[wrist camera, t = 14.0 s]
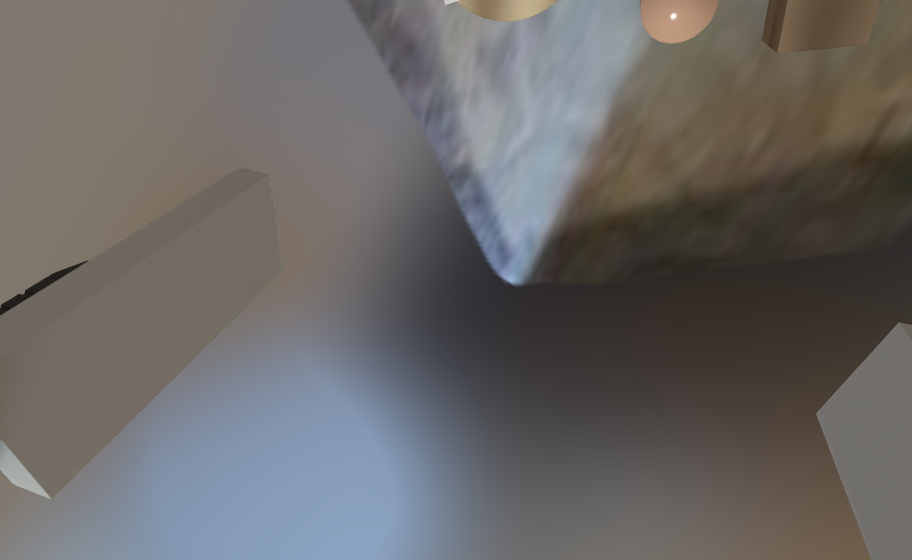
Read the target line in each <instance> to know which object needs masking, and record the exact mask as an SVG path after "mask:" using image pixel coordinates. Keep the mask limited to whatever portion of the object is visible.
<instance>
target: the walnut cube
mask: <svg viewBox="0 0 912 560" xmlns="http://www.w3.org/2000/svg"><path fill="white" fill-rule="evenodd" d="M879 3H880V0H769V4H768V10H767V15H766V21H765V26H764V32H763V37H762V40H763V41H764V42H765V43H766V44H767V45H768V46H769V47H770V48H772V49H773V50H774V51H775V52H776V53H787V52H797V51H807V50H817V49H827V48H837V47H847V46H858V45H868V41H869V38H870V34H871V31H872V27H873V24H874V21H875V17H876V14H877V10H878V7H879Z"/></svg>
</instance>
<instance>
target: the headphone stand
mask: <svg viewBox="0 0 912 560" xmlns="http://www.w3.org/2000/svg"><path fill="white" fill-rule="evenodd" d="M455 1H458V0H444V3H445V5H446V4H449V3H452V2H455Z"/></svg>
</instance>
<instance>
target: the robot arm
mask: <svg viewBox="0 0 912 560" xmlns="http://www.w3.org/2000/svg"><path fill="white" fill-rule="evenodd" d="M283 270H284V266H283V259H282V253H281V247H280V241H279V234H278V228H277V222H276V215H275V209H274V203H273V196H272V190H271V184H270V178H269V174H265V173H261V172H257V171H253V170H248V169H244V168H238V169H237V170H235V171H233V172H232V173H230V174H229V175H227V176H225V177H224V178H222V179H221V180H219V181H217V182H216V183H214V184H212V185H211V186H209V187H208V188H206V189H204V190H203V191H201V192H199V193H198V194H196V195H195V196H193V197H192V198H190V199H188V200H187V201H185V202H183V203H182V204H180V205H178V206H177V207H175V208H174V209H172V210H170V211H169V212H167V213H166V214H164V215H162V216H161V217H159V218H158V219H156V220H154V221H153V222H151V223H149V224H148V225H146V226H145V227H143V228H142V229H140V230H138V231H136V232H135V233H133V234H132V235H130V236H128V237H127V238H125V239H123V240H122V241H120V242H119V243H117V244H116V245H114V246H112V247H111V248H109V249H107V250H106V251H104V252H102V253H101V254H100V255H98V256H96V257H94V258H93V259H91V260H89V261H85V262H83V263H80V264H77V265H74V266H72V267H69V268H66V269H63V270H61V271H58V272H55V273H53V274H51V275H50V276H48V277H47V278H45V279H43V280H41V281H40V282H38V283H37V284H35V285H33V286H32V287H30V288H28V289H27V290H25V293H24V294H23V295H21V294H18V295H17V296H15V297H13V298H12V299H10V300H8V301H7V302H5V303H3V304H2V305H1V308H0V470H1V471H2V472H3V473H4V474H5V475H6V476H7V478H8V479H10V481H11V482H12V483H13V484H15V485H17V486H20V487H22V488H25V489H27V490H30V491H32V492H35V493H37V494H40V495H42V496H45V497H47V498H50V499H53V497H55V496H56V495H57V494H58V493H59V492H60V491H61V490H62V489H63V488H64V487H65V486H66V485H67V484H68V483H69V482H70V481H71V480H72V479H73V478H74V477H75V476H76V475H77V474H78V473H79V472H80V471H81V470H82V469H83V468H84V467H85V466H86V465H87V464H88V463H89V462H90V461H91V460H92V459H93V458H94V457H95V456H96V455H97V454H98V453H99V452H100V451H101V450H102V449H103V448H104V447H105V446H106V445H107V444H108V443H109V442H110V441H111V440H112V439H113V438H114V437H115V436H116V435H117V434H118V433H119V432H120V431H121V430H122V429H123V428H124V427H125V426H126V425H127V424H128V423H129V422H130V421H131V420H132V419H133V418H134V417H135V416H136V415H137V414H138V413H139V412H140V411H141V410H142V409H144V407H146V406H147V405H148V404H149V403H150V402H151V401H152V400H153V399H154V398H155V397H156V396H157V395H158V394H159V393H160V392H161V391H162V390H163V389H164V388H165V387H166V386H167V384H169V383H170V382H171V381H172V380H173V379H174V378H175V377H176V376H177V375H178V374H179V373H180V372H181V371H182V370H183V369H184V368H185V367H186V366H187V365H188V364H189V363H190V362H191V361H192V360H193V359H194V358H195V357H196V356H197V355H198V354H199V353H200V352H201V351H202V350H203V349H204V348H205V347H206V346H207V345H208V344H209V343H210V342H211V341H212V340H213V339H214V338H215V337H216V336H217V335H218V334H219V333H220V332H221V331H222V330H223V329H224V328H225V327H226V326H227V325H228V324H229V323H230V322H231V321H232V320H233V319H234V318H235V317H236V316H237V315H239V313H240V312H242V310H243V309H245V308H246V307H247V306H248V305H249V304H250V303H251V302H252V301H253V299H255V298H256V297H257V296H258V295H259V294H260V293H261V292H262V291H263V290H264V289H265V288H266V287H267V286H268V285H269V284H270V283H271V282H272V281H273V280H274V279H275V278H276V277H277V276H278V275H279V274H280V273H281V272H282V271H283ZM816 414H817V417H818V420H819V422H820V425H821V428H822V430H823V433H824V435H825V438H826V441H827V443H828V446H829V449H830V451H831V454H832V457H833V459H834V462H835V465H836V467H837V470H838V472H839V475H840V478H841V481H842V483H843V486H844V489H845V491H846V493H847V497H848V499H849V502H850V504H851V507H852V510H853V512H854V515H855V518H856V520H857V523H858V525H859V528H860V531H861V534H862V536H863V539H864V542H865V544H866V547H867V550H868V552H869V555H870V558H871V560H912V325H907V324H903V323H898V324H897V325H896V326H895V328H894V329H893V330H892V331H891V332H890V333H889V334H888V335H887V336H886V337H885V339H884V340H883V341H882V342H881V343H880V344H879V345H878V346H877V347H876V348H875V350H874V351H873V352H872V353H871V354H870V355H869V356H868V357H867V358H866V359H865V361H864V362H863V363H862V364H861V365H860V366H859V367H858V368H857V369H856V370H855V372H854V373H853V374H852V375H851V376H850V377H849V378H848V379H847V381H845V383H844V384H843V385H842V386H841V387H840V388H839V389H838V390H837V391H836V392H835V394H834V395H833V396H832V397H831V398H830V399H829V400H828V401H827V402H826V403H825V405H824V406H823V407H822V408H821V409H820V410H819V411H818V412H817V413H816Z"/></svg>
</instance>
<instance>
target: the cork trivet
mask: <svg viewBox="0 0 912 560" xmlns="http://www.w3.org/2000/svg"><path fill="white" fill-rule="evenodd" d="M557 1H558V0H458V1H457V2H458V3H459V4H460V5H462V6H463V7H464V8H465V9H467V10H469V11H470V12H472V13H474V14H476V15H478V16H481V17H483V18H486V19H490V20H495V21H516V20H521V19H526V18H528V17H531V16H534V15H536V14H538V13H540V12H542V11H544V10H546V9H547V8H549V7H550V6H552V5H553V4H554V3H556V2H557Z"/></svg>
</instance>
